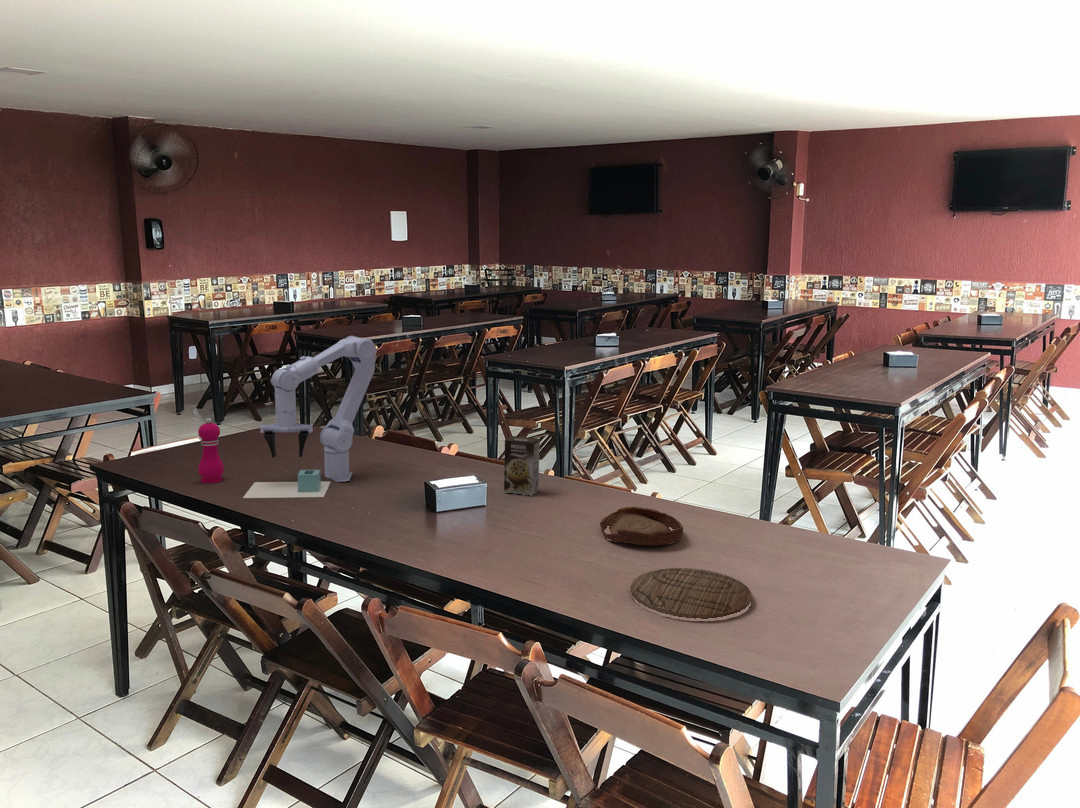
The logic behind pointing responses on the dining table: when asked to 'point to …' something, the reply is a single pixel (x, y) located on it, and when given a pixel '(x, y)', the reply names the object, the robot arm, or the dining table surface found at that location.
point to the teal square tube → (309, 481)
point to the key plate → (282, 490)
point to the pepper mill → (210, 453)
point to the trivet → (691, 593)
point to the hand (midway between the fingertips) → (287, 456)
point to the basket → (641, 526)
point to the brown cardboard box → (521, 465)
